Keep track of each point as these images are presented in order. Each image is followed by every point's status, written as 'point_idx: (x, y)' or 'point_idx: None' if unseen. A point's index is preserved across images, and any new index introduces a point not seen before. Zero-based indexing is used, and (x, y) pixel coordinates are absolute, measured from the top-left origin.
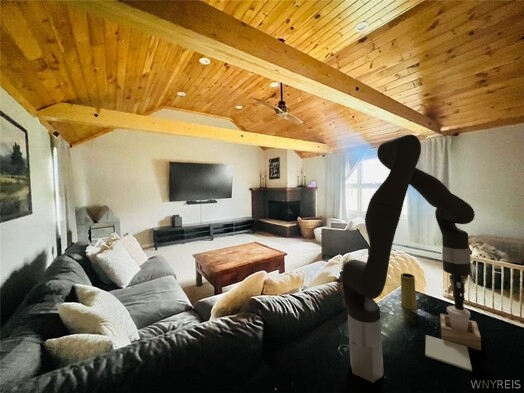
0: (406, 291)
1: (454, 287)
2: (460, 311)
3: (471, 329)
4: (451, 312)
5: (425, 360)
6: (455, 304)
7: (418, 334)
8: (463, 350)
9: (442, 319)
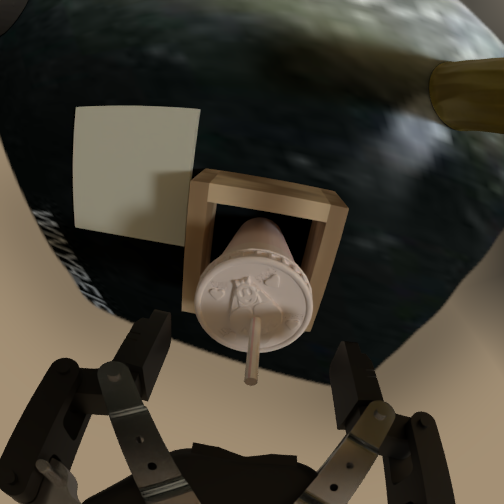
0: (492, 72)
1: (10, 438)
2: (233, 318)
3: None
4: (214, 268)
5: (62, 108)
6: (143, 330)
7: (205, 81)
8: (152, 228)
9: (279, 202)
